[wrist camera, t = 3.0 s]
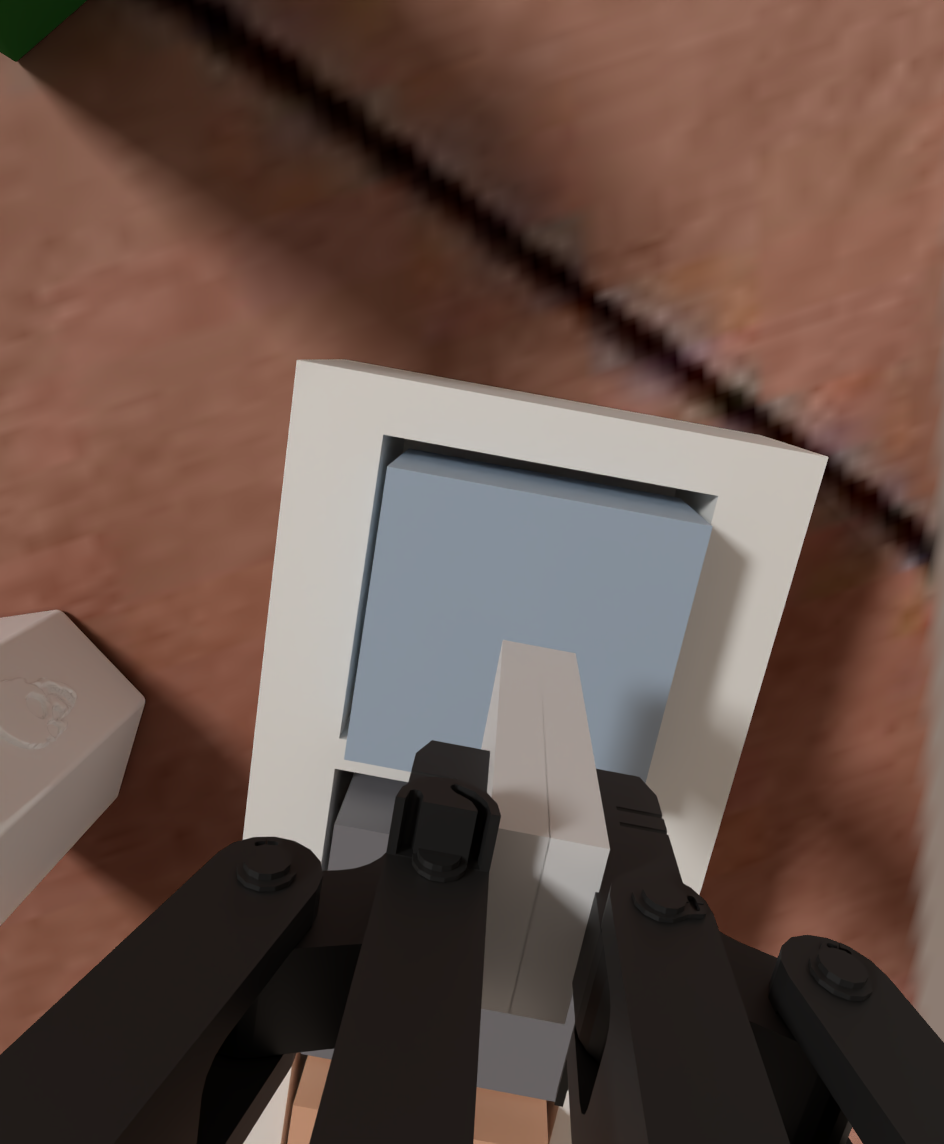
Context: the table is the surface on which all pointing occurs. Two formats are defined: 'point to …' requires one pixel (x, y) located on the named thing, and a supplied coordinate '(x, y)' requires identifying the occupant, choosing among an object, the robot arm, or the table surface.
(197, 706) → the table surface
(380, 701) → the slate key
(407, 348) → the table surface
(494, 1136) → the terracotta key
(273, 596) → the board
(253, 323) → the table surface
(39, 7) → the milk carton
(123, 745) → the jar
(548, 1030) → the charcoal key
